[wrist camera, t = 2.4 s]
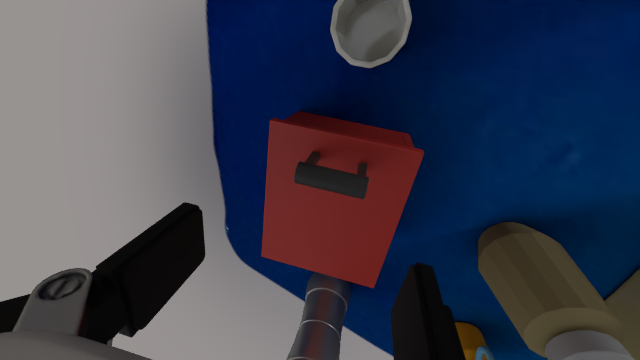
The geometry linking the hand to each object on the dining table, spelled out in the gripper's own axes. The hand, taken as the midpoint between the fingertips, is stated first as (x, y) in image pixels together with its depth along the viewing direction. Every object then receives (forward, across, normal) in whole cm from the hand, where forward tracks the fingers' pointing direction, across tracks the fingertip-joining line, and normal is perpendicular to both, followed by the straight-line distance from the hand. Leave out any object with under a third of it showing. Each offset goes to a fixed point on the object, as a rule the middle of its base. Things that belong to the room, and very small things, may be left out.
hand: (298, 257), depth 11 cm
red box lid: (+12, 0, +5) cm, 13 cm away
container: (+20, 0, -10) cm, 23 cm away
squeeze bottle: (+20, -21, +8) cm, 30 cm away
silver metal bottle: (+20, -2, +22) cm, 30 cm away
